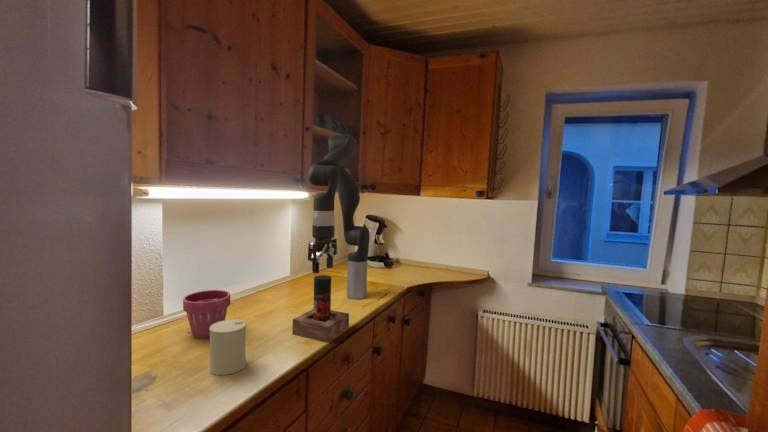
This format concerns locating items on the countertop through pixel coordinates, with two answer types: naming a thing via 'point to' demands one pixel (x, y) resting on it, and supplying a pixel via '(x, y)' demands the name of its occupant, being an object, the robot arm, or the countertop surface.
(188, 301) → the plant pot
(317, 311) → the deodorant
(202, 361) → the countertop surface
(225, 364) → the can
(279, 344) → the countertop surface
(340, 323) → the plinth
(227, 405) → the countertop surface
